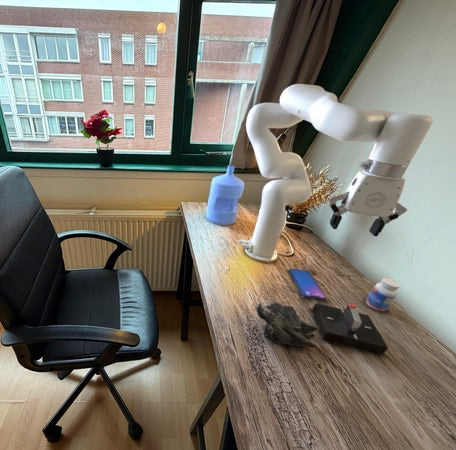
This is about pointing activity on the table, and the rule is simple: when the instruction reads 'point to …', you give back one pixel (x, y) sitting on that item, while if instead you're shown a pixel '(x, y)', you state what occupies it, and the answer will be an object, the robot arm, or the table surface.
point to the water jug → (224, 198)
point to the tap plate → (338, 332)
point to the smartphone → (307, 284)
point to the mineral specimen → (285, 325)
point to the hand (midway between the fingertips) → (352, 230)
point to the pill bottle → (383, 294)
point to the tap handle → (352, 318)
